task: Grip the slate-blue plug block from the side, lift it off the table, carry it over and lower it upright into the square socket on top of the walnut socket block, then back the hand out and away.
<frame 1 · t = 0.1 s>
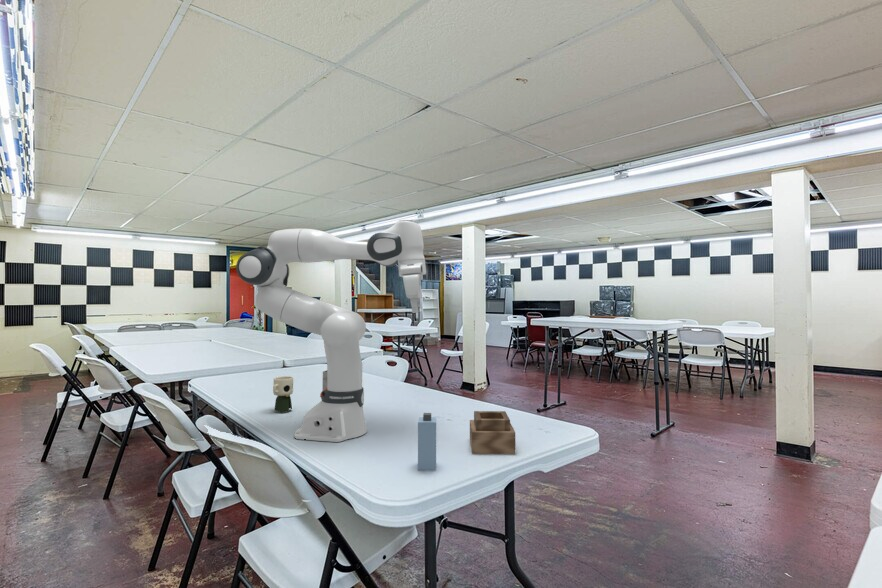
hand: (416, 312, 133), 39 cm above the table, tool pointing down, fingers open, 8 cm apart
plug block: (427, 466, 105), on the table
socket block: (491, 446, 120), on the table
coffee box: (335, 412, 158), on the table
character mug: (283, 412, 158), on the table
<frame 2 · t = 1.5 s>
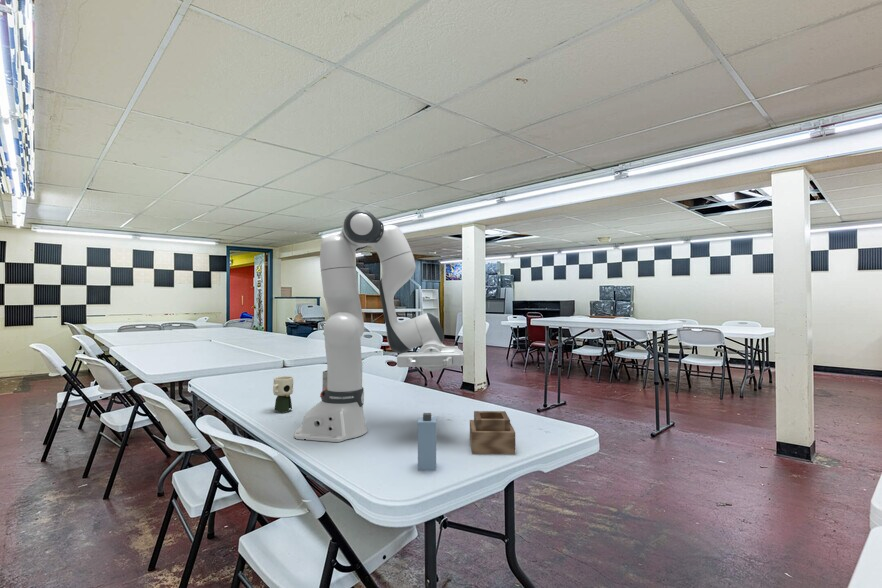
hand: (429, 363, 118), 25 cm above the table, tool horizontal, fingers open, 8 cm apart
nothing on the table moved.
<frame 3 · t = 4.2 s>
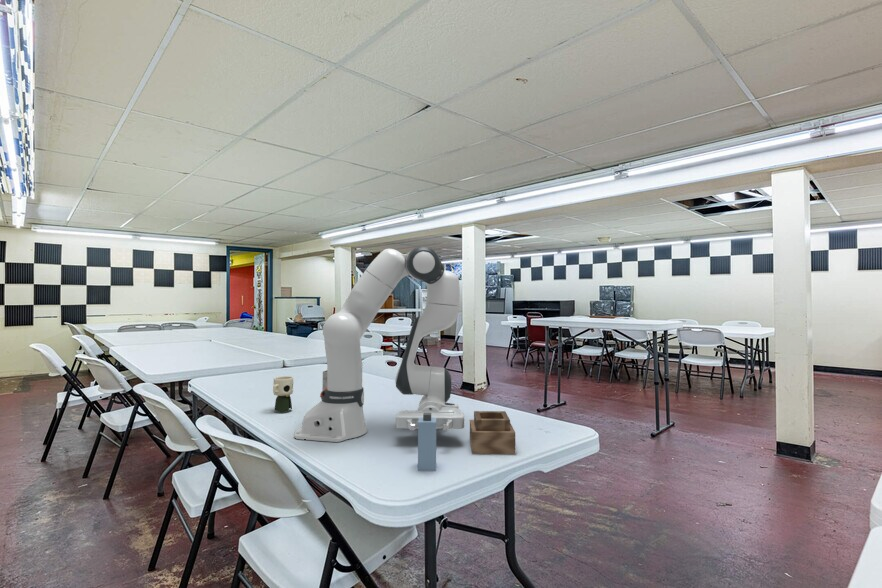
hand: (429, 427, 115), 7 cm above the table, tool horizontal, fingers open, 8 cm apart
nothing on the table moved.
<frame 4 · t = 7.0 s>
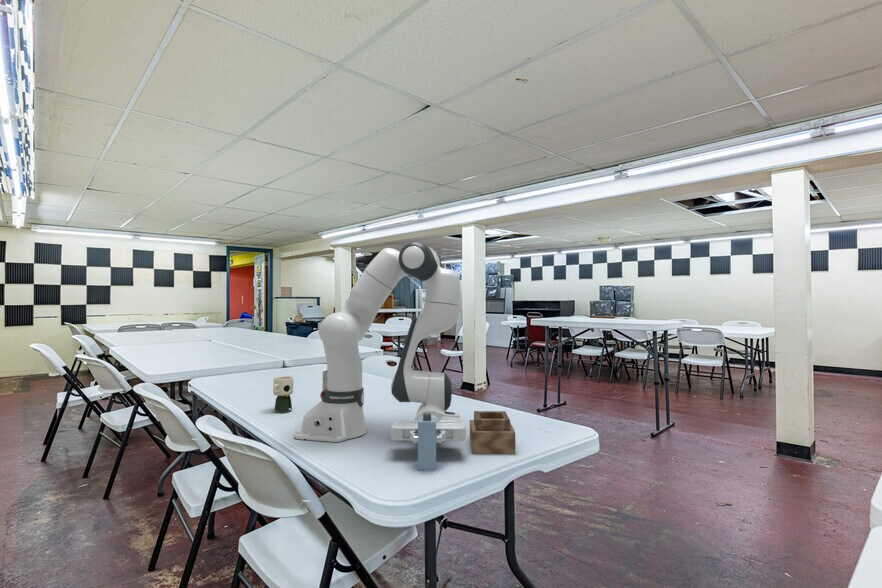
hand: (427, 440, 104), 7 cm above the table, tool horizontal, fingers closed on plug block, 4 cm apart
plug block: (427, 466, 105), on the table, touching gripper
everything else where it was.
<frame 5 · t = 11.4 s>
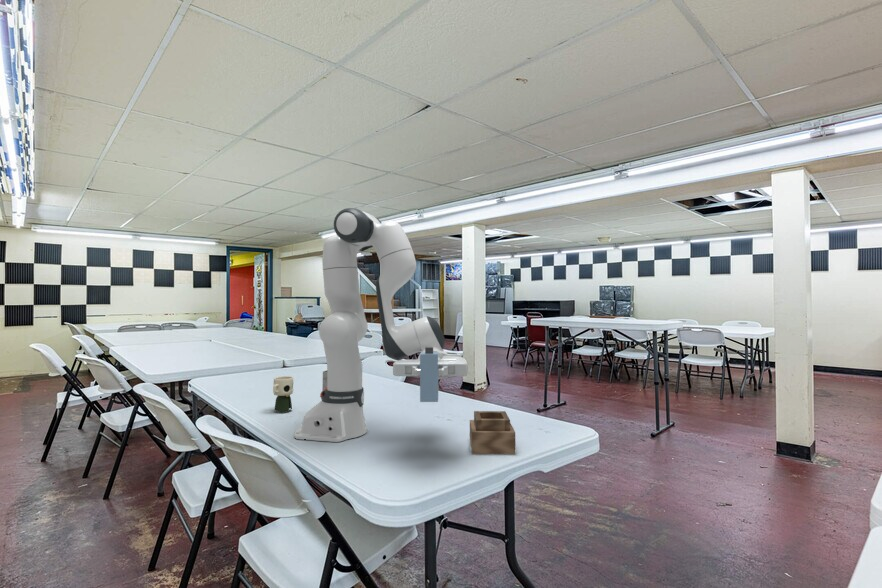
hand: (429, 373, 105), 24 cm above the table, tool horizontal, fingers closed on plug block, 4 cm apart
plug block: (429, 399, 106), point 17 cm above the table, touching gripper
everything else where it was.
when the fingers open (14 cm above the table, at t = 15.8 s): plug block drops 1 cm, resting on socket block.
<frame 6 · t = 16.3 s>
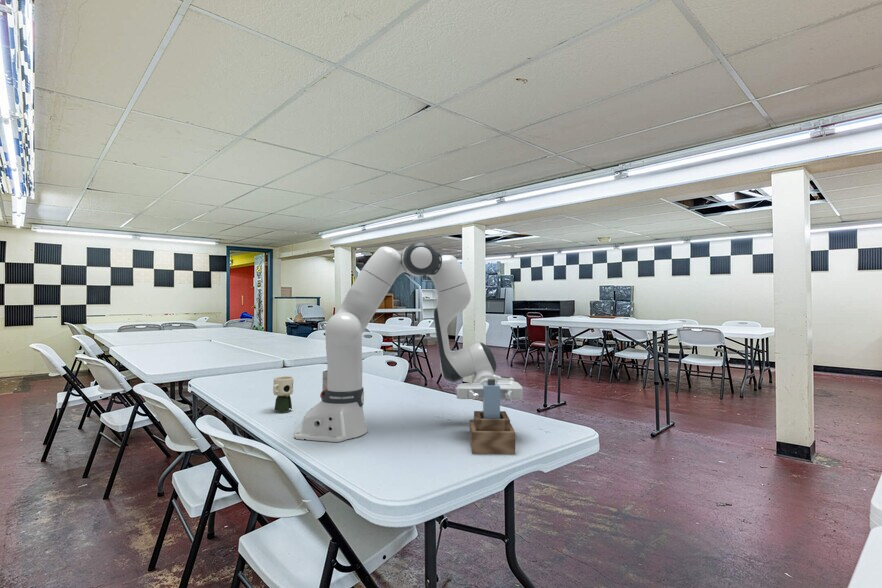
hand: (491, 397, 119), 14 cm above the table, tool horizontal, fingers open, 8 cm apart
plug block: (491, 425, 120), point 6 cm above the table, touching socket block
everything else where it was.
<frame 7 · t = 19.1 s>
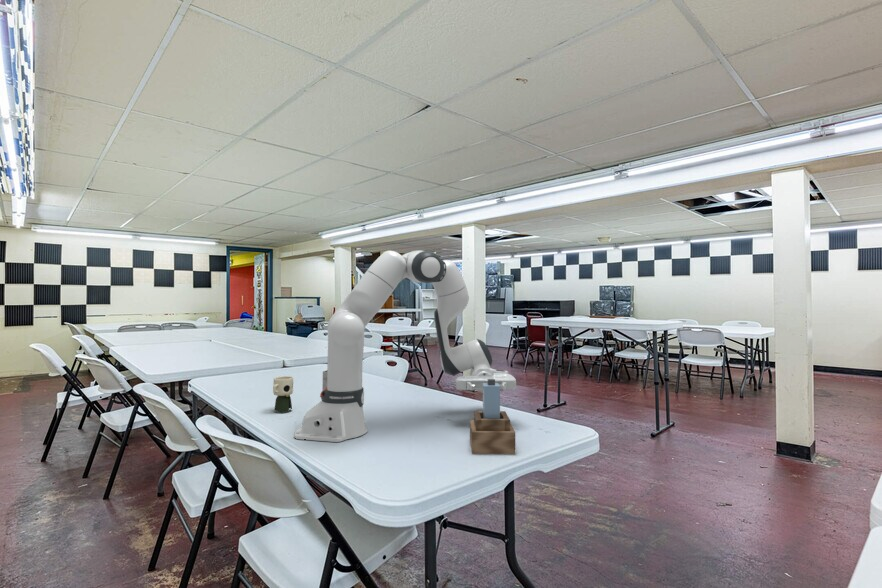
hand: (487, 388, 132), 15 cm above the table, tool horizontal, fingers open, 8 cm apart
nothing on the table moved.
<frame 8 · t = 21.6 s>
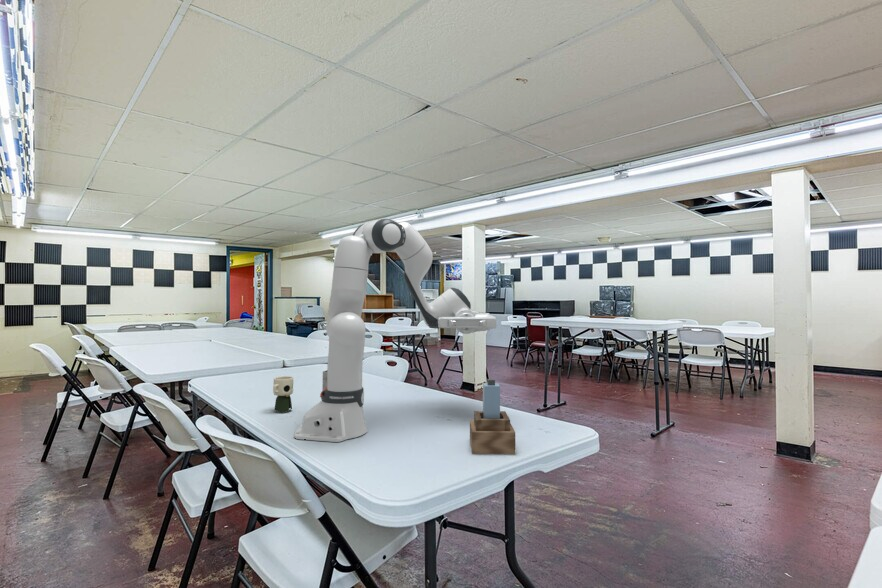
hand: (468, 323, 137), 35 cm above the table, tool horizontal, fingers open, 8 cm apart
nothing on the table moved.
at the end: plug block 0.0 cm off-centre on the socket block, point 6.0 cm above the socket block's base; plug block tilted 0°; the gripper is holding nothing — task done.
